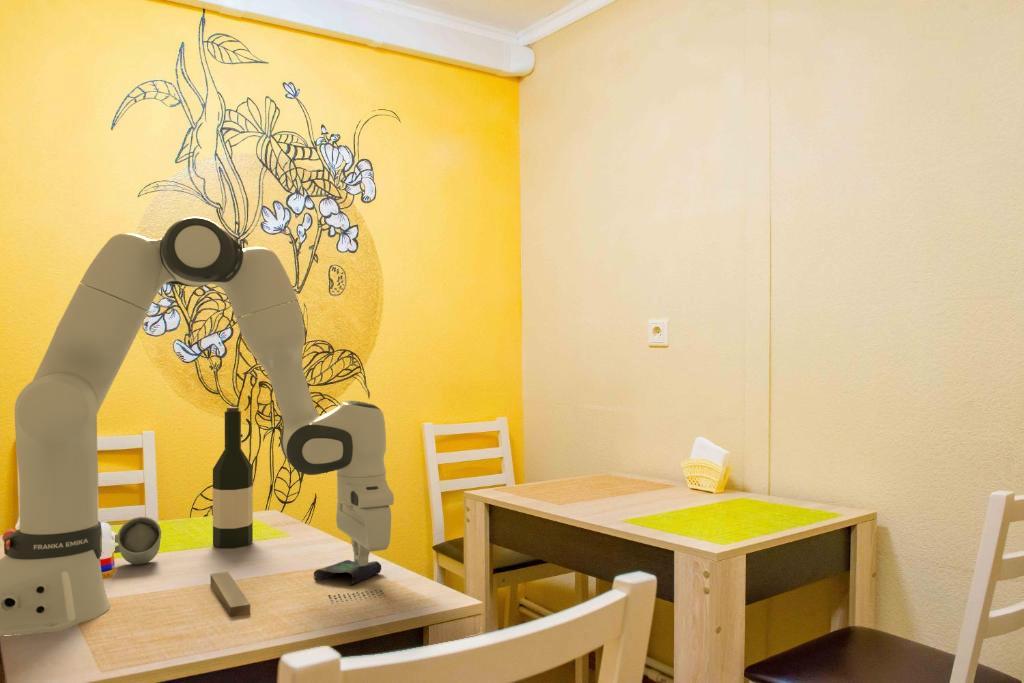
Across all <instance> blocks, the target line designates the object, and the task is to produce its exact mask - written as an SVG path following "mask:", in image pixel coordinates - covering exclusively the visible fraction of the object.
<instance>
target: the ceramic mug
mask: <svg viewBox="0 0 1024 683" xmlns="http://www.w3.org/2000/svg"><path fill="white" fill-rule="evenodd" d="M114 535H115V543H116V544H118V545H115V546H116V547H115V551H114V553H113V554H119V553H120V555H121V556H122V558H123V560H125V561H126V562H127V563H128V564H131V565H137V566H138V565H144V564H147V563H149V562H151V561H153V559H154V558H155V557H156V556H157V555H158V553H159V550H160V547H161V539H162V538H161V537H162V529H161V526H160V524H159V523H158V522H157V521H156V520H154V519H153V518H152V517H151V518H150V517H147V516H138V517H133V518H131V519H128V521H126V522H125V523H123V525H122V526H121V527H120V528H119V530H118V532H117V534H114ZM115 543H114V544H115Z"/></svg>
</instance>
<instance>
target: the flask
mask: <svg viewBox="0 0 1024 683" xmlns="http://www.w3.org/2000/svg"><path fill="white" fill-rule="evenodd" d="M381 571H382V565H381V563H380V562H379V561H377V560H376V561H374V560H373V561H370V562H369V561H368V565H366V566H359V565H358V564H357V563H356V562H354V560H349V559H345V560H343V561H340V562H337V563H335V564H331V565H327V566H325V567H322V568H319V569H316V570H315V571H314V572H313V579H314V581H315V582H318V581H321V580H323V579H325V578H328V577H330V576H334V575H335V574H342V573H349V574H351V576H352V582H351V583H348V584H347V585H346V587H349V586H351V585H354V584H357V583H358V582H360V581H363V580H365V579H368V578H371V577H373V576H376V575H378V574H380V573H381Z"/></svg>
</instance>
